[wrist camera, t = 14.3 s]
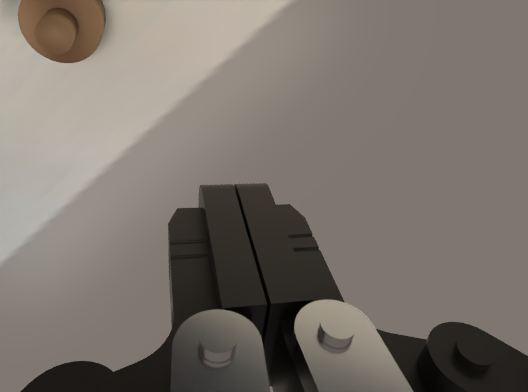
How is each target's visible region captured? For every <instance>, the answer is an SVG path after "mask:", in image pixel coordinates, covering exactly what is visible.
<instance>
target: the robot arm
mask: <svg viewBox="0 0 528 392" xmlns="http://www.w3.org/2000/svg"><path fill="white" fill-rule="evenodd" d="M168 236H169V237H168V240H169V281H170V282H169V283H170V303H171V322H172V330H171V332H170V334H169V336H168V338H167V339H166V341H165V342H164V343H163V344H162V346H161V347H160V348H159V349H158V350H156V351H155V352H154V353H153V354H151V355H150V356H148V357H147V358H145V359H143V360H141V361H139V362H137V363H134V364H132V365H129V366H127V367H124V368H122V369H120V370H117V371H115V372H113V371H112V370H110V369H109V368H107V367H105V366H103V365H101V364H99V363H95V362H89V361H77V362H76V361H75V362H69V363H64V364H62V365H59V366H56V367H53V368H52V369H49V370H47V371H45V372H44V373H42V374H41V375H39V376H38V377H36V378H35V379H34V380H33V381H32V382H30V383H29V384H28V385H27V386H26V387H25V388H24V389H23V390H22V391H21V392H270V386H272V387H273V391H274V392H528V356H527V355H525V354H523V353H521V352H520V351H518V350H516V349H514V348H512V347H511V346H509V345H507V344H505V343H504V342H502V341H500V340H498V339H497V338H495V337H493V336H492V335H490V334H488V333H486V332H485V331H482V330H481V329H479V328H477V327H474V326H471V325H468V324H464V323H459V322H447V323H442V324H440V325H438V326H436V327H434V328H433V330H432V331H431V332H430V334H429V336H428V338H427V340H426V339H420V338H414V337H409V336H404V335H398V334H393V333H388V332H384V331H381V330H378V329H376V328H375V327H374V325H373V324H372V322H371V321H370V320H369V319H368V317H367V316H366V315H365V314H363V313H362V312H361V311H360V310H358V309H357V308H355V307H353V306H351V305H349V304H347V303H345V302H344V300H343V298H342V296H341V294H340V292H339V290H338V287H337V285H336V283H335V281H334V279H333V277H332V275H331V272H330V270H329V268H328V266H327V264H326V262H325V260H324V257H323V255H322V253H321V251H320V250H319V249H318V245H317V242H316V240H315V238H314V237H312V232H311V230H310V228H309V225H308V223H307V221H306V219H305V217H303V216H302V215H301V214H300V213H299V212H298V211H297V210H296V209H294V208H293V207H292V206H291V205H290V204H288V205H287V204H286V205H276V204H275V202H274V199H273V197H272V194H271V192H270V189H269V187H268V185H267V184H265V183H264V184H235V185H234V186H233V185H232V184H231V185H229V184H227V185H200V188H199V208H179V209H177V210H176V212H175V213H174V215H173V217H172V218H171V220H170V222H169V223H168Z"/></svg>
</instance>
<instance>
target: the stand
mask: <svg viewBox="0 0 528 392" xmlns="http://www.w3.org/2000/svg"><path fill="white" fill-rule="evenodd" d="M105 20H106V16H105V9H104V5H103V3H102V0H22V1H21V3H20V6H19V10H18V21H19V26H20V29H21V31H22V34H23V36H24V37H25V39H26V40H27V42H28V43H29V44H30V45H31V47H32V48H33V49H35V50H36V51H37V52H38V53H40V54H41V55H43V56H44V57H46V58H48V59H50V60H53V61H56V62H61V63H74V62H79V61H82V60H84V59H86V58H87V57H89V56H90V55H91V54H93V52H94V51H95V50H96V49H97V47H98V45H99V43H100V40H101V36H102V33H103V29H104V26H105Z"/></svg>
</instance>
